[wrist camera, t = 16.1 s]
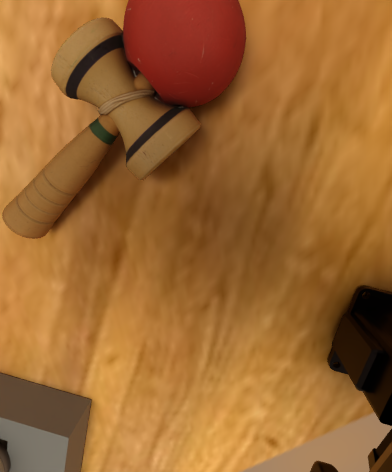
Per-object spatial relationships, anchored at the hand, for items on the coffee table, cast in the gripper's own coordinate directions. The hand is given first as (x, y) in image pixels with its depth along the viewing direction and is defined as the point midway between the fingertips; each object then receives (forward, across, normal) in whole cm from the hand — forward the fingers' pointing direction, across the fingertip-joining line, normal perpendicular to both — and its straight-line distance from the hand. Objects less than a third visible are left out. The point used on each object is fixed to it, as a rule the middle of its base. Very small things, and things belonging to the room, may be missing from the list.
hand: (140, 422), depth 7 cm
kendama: (+13, +7, -7) cm, 17 cm away
